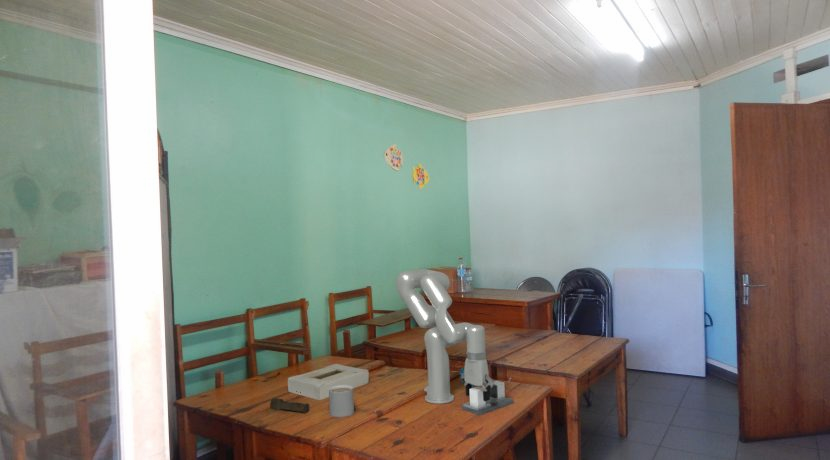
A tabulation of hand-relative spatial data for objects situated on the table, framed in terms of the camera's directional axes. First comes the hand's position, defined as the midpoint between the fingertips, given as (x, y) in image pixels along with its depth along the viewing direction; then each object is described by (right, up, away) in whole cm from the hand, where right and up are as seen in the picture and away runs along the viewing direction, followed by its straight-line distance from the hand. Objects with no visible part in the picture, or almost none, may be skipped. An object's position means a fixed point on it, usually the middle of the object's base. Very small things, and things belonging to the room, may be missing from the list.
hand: (477, 397), depth 212 cm
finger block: (0, -3, 0) cm, 3 cm away
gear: (0, -5, +36) cm, 36 cm away
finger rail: (+5, -5, +4) cm, 8 cm away
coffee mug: (-55, -7, +3) cm, 55 cm away
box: (-67, -8, +38) cm, 78 cm away
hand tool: (-79, -8, +7) cm, 80 cm away
